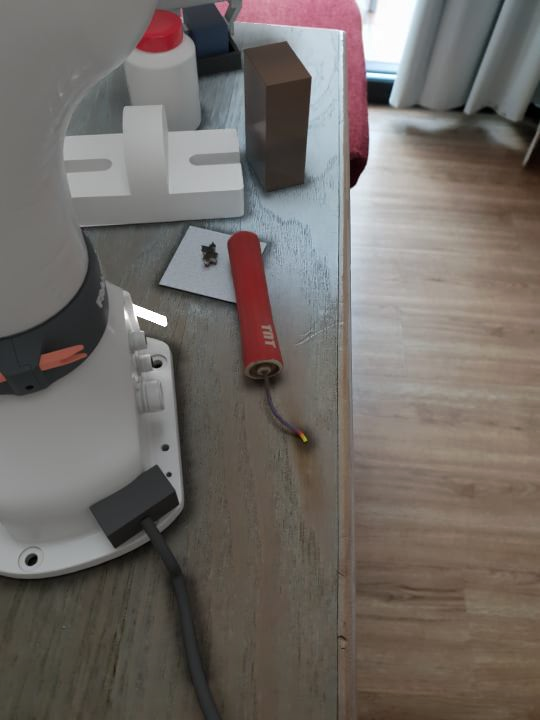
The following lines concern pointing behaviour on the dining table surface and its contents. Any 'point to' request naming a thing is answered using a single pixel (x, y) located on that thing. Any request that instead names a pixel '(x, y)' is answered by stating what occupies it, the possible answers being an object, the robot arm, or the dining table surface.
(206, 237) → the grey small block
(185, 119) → the pill bottle
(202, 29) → the dark blue rectangular block
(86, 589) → the dining table surface
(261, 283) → the dynamite stick
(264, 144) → the dark brown tall block
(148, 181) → the slotted mounting bracket
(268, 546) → the dining table surface
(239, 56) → the dark rectangular tray
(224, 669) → the dining table surface
